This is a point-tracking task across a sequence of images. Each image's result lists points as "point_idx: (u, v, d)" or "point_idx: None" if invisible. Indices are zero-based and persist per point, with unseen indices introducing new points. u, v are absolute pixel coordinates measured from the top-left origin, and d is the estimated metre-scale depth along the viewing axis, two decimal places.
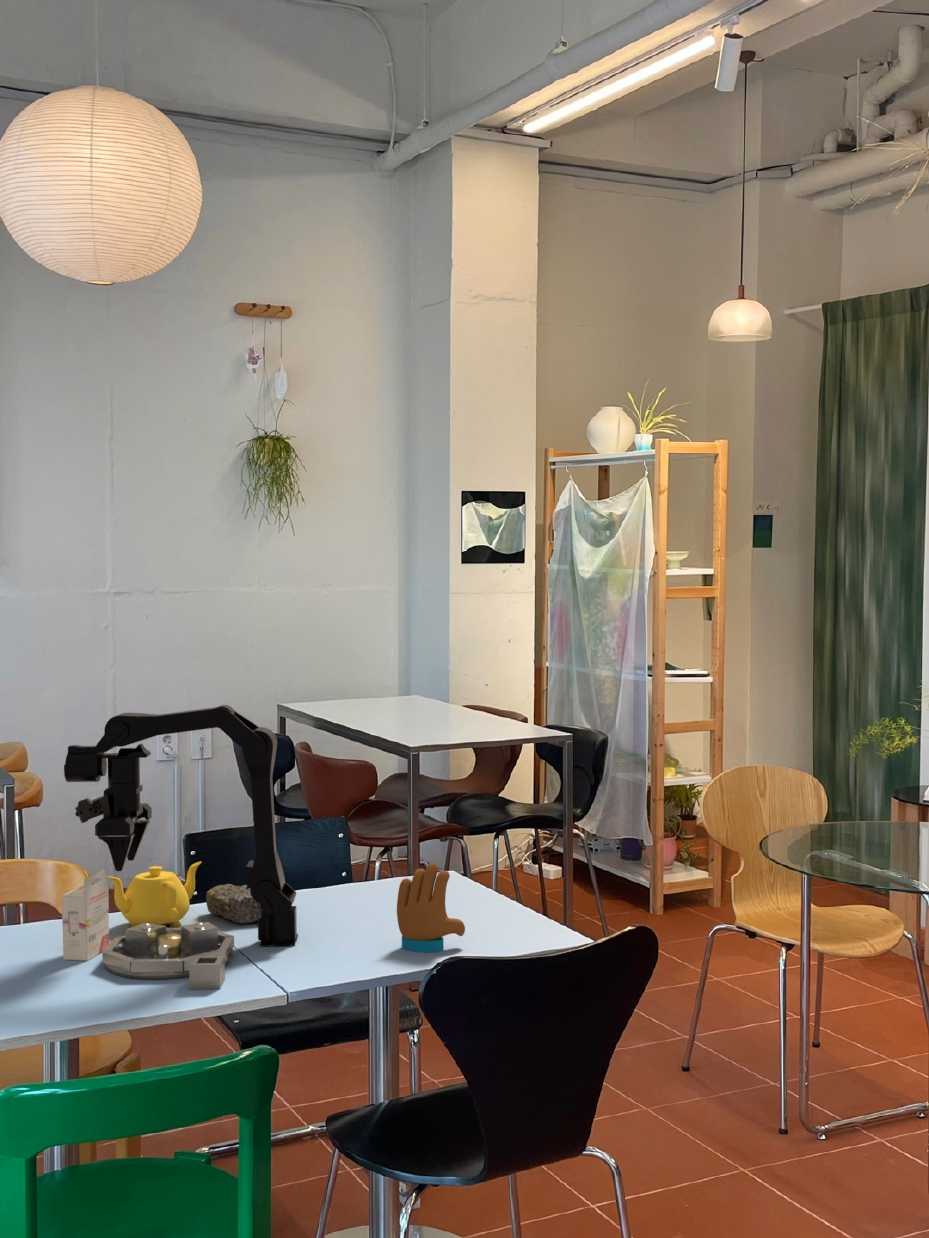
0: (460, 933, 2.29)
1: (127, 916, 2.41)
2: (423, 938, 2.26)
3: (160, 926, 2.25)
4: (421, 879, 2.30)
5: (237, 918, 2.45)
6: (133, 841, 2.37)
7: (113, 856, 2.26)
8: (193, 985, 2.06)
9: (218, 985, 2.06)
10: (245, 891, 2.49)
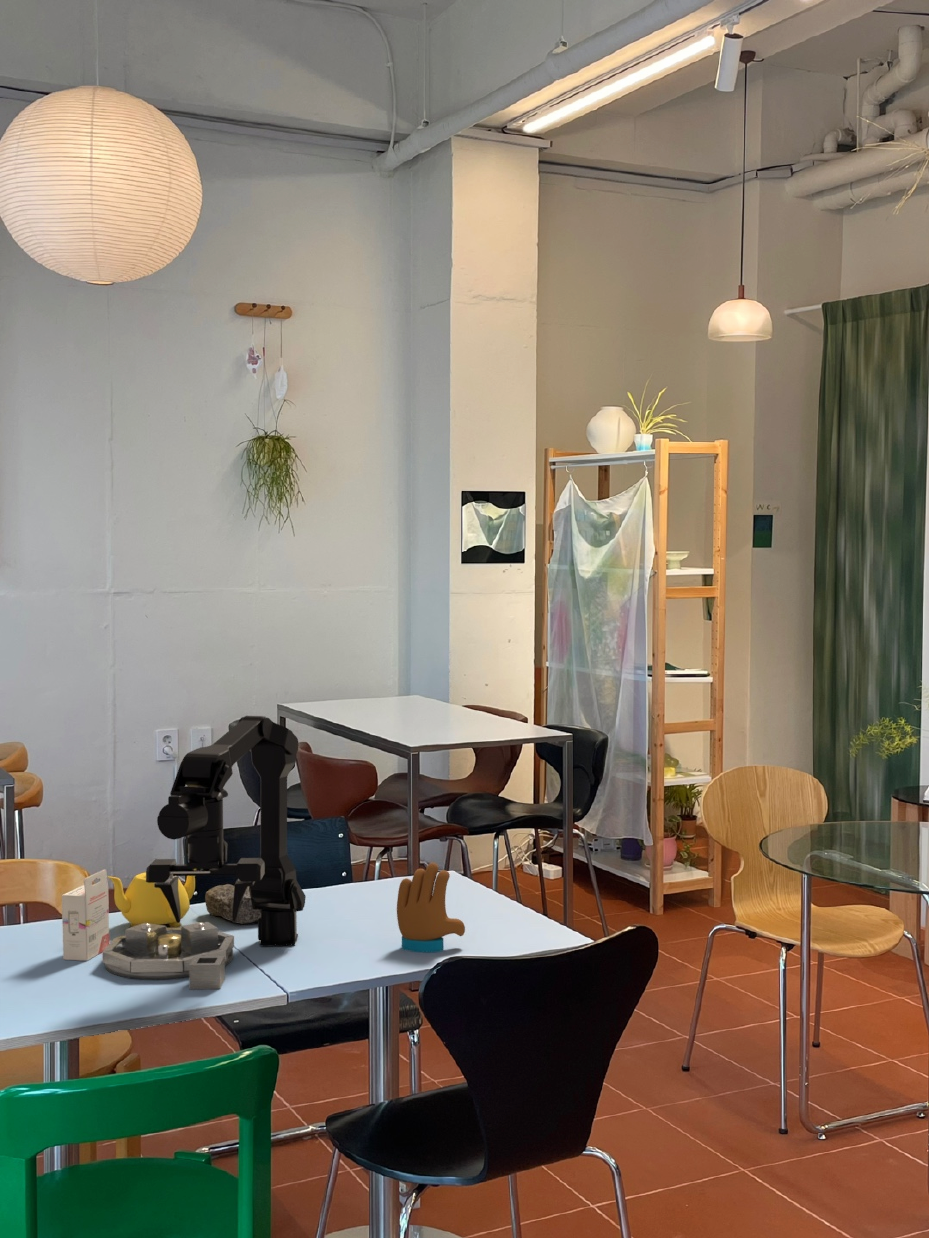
0: (460, 933, 2.29)
1: (127, 916, 2.41)
2: (423, 938, 2.26)
3: (160, 926, 2.25)
4: (421, 879, 2.30)
5: (237, 918, 2.45)
6: None
7: None
8: (193, 985, 2.06)
9: (218, 985, 2.06)
10: None
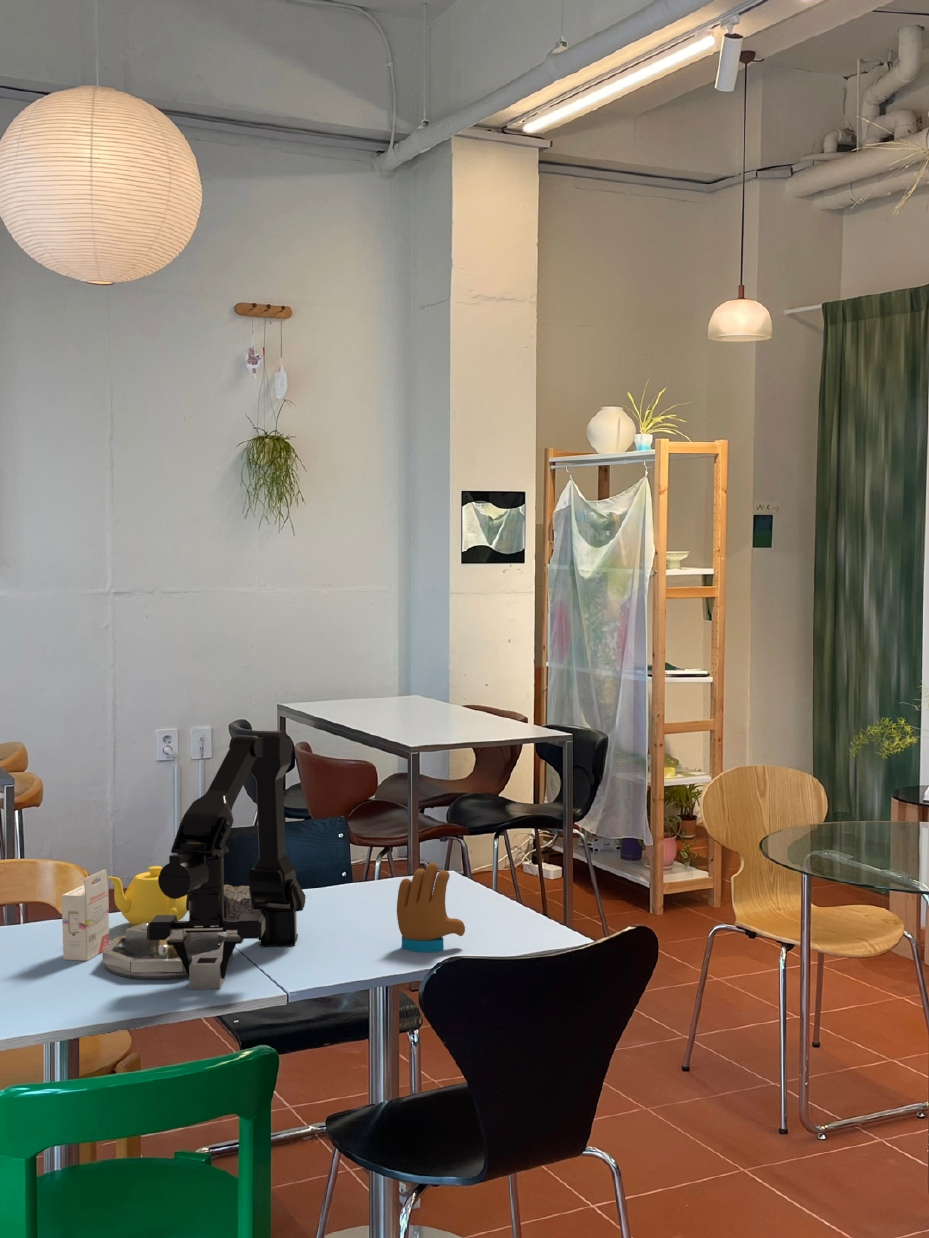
0: (460, 933, 2.29)
1: (127, 916, 2.41)
2: (423, 938, 2.26)
3: None
4: (421, 879, 2.30)
5: (236, 919, 2.44)
6: None
7: None
8: (193, 985, 2.06)
9: (218, 985, 2.06)
10: (244, 892, 2.49)
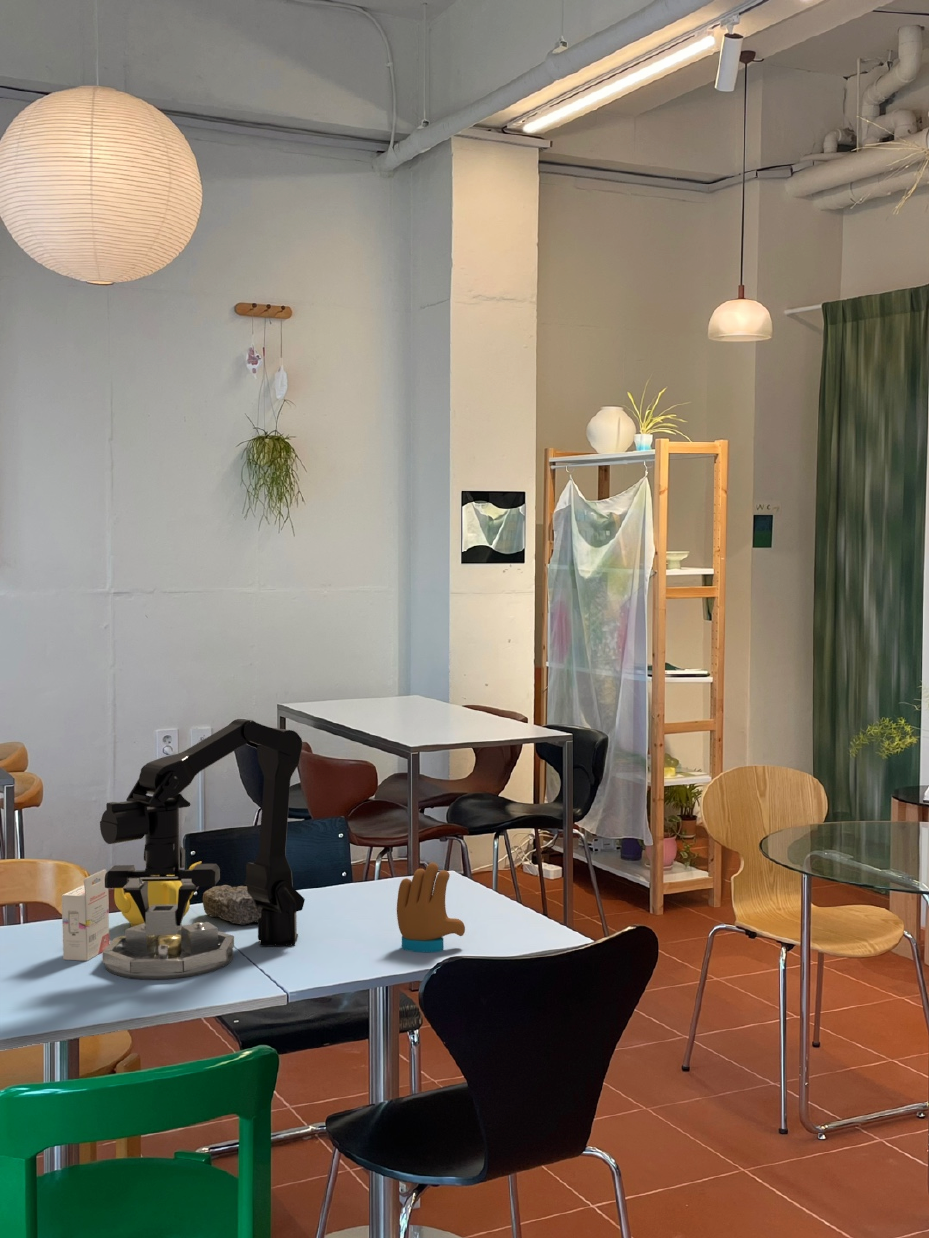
0: (460, 933, 2.29)
1: (127, 916, 2.41)
2: (423, 938, 2.26)
3: None
4: (421, 879, 2.30)
5: (236, 919, 2.44)
6: None
7: None
8: (149, 931, 2.14)
9: (173, 931, 2.14)
10: (243, 892, 2.49)
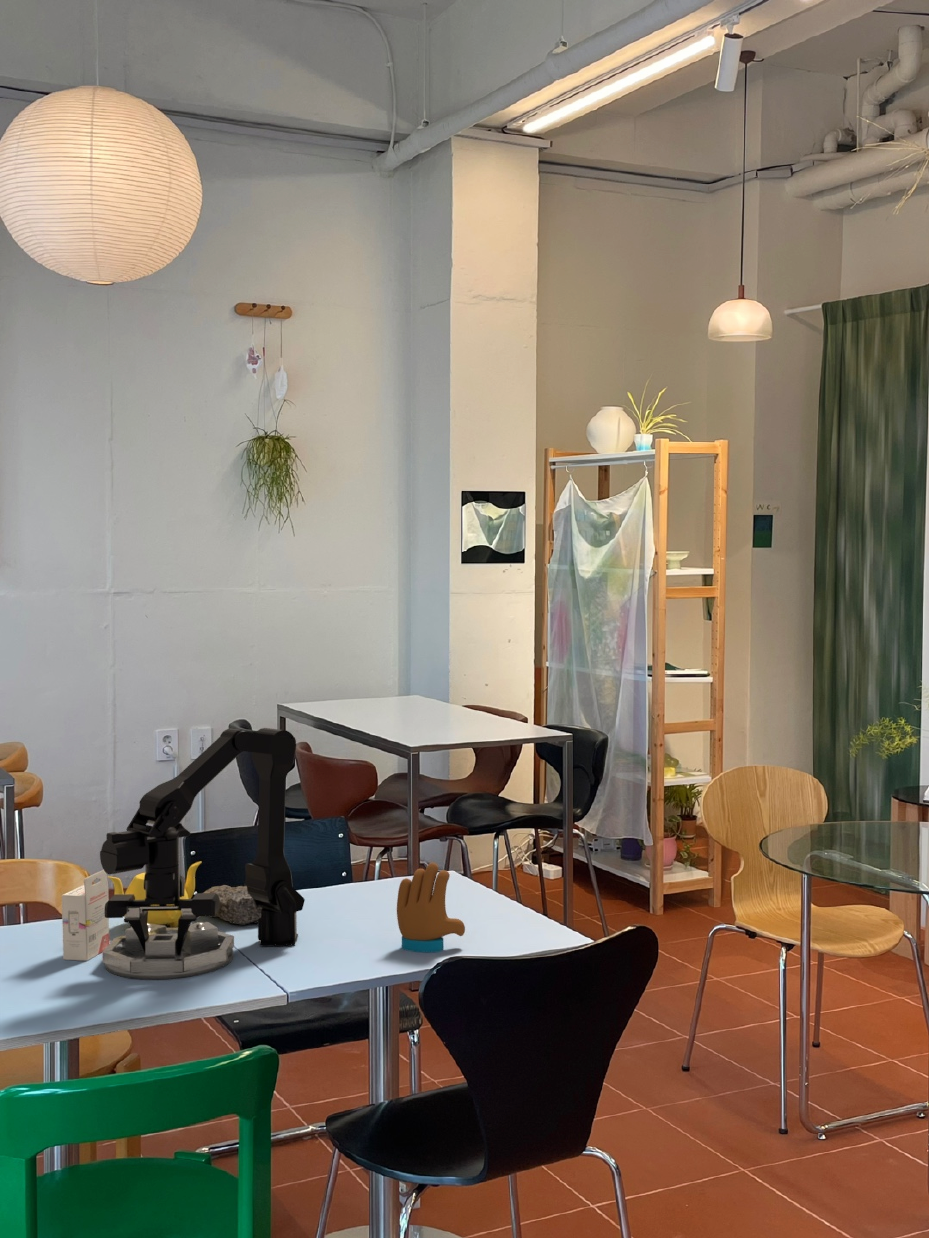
0: (460, 933, 2.29)
1: None
2: (423, 938, 2.26)
3: (160, 926, 2.25)
4: (421, 879, 2.30)
5: (235, 919, 2.44)
6: None
7: None
8: None
9: None
10: (242, 892, 2.48)
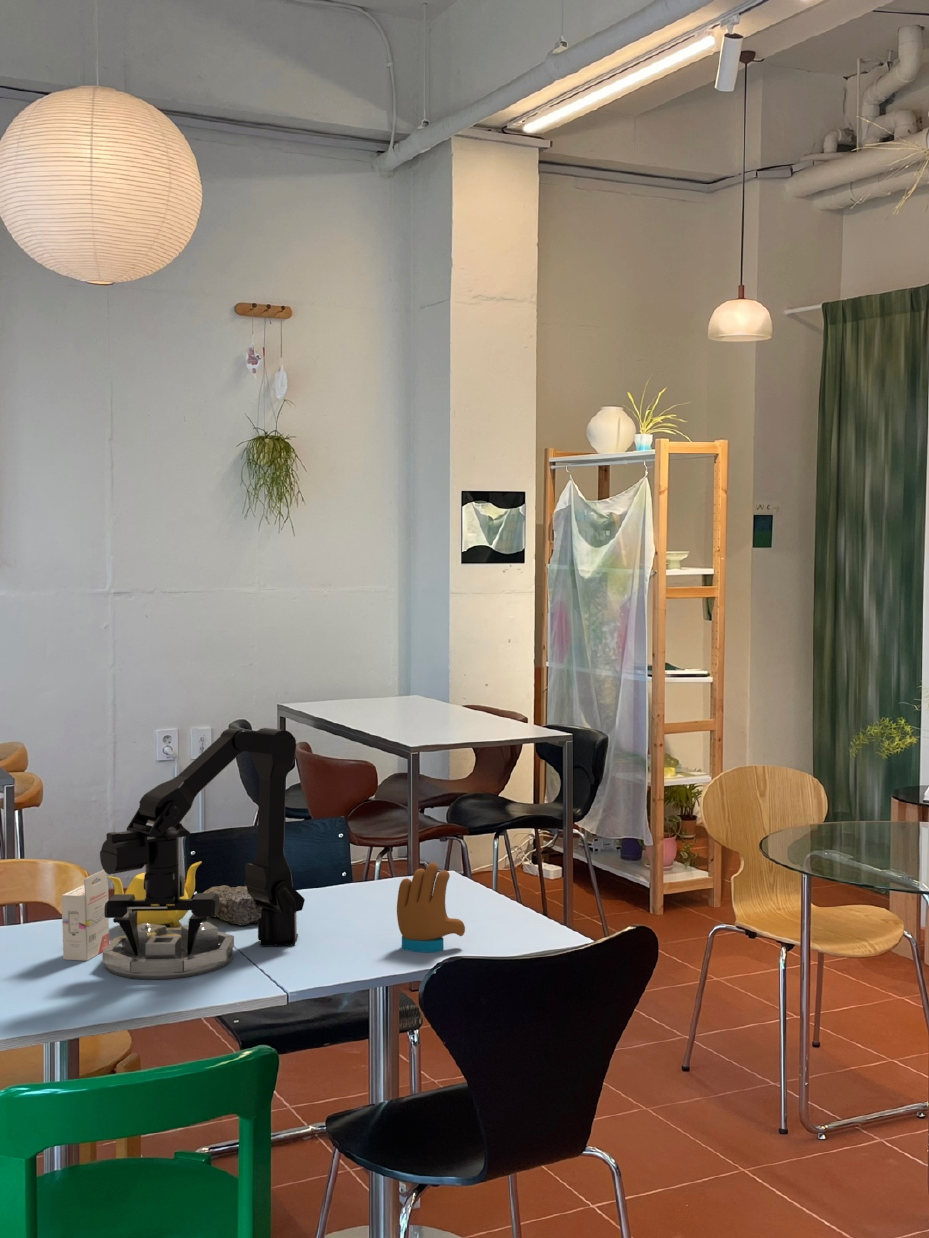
0: (460, 933, 2.29)
1: None
2: (423, 938, 2.26)
3: (160, 926, 2.25)
4: (421, 879, 2.30)
5: (235, 919, 2.44)
6: None
7: None
8: None
9: None
10: (242, 892, 2.48)
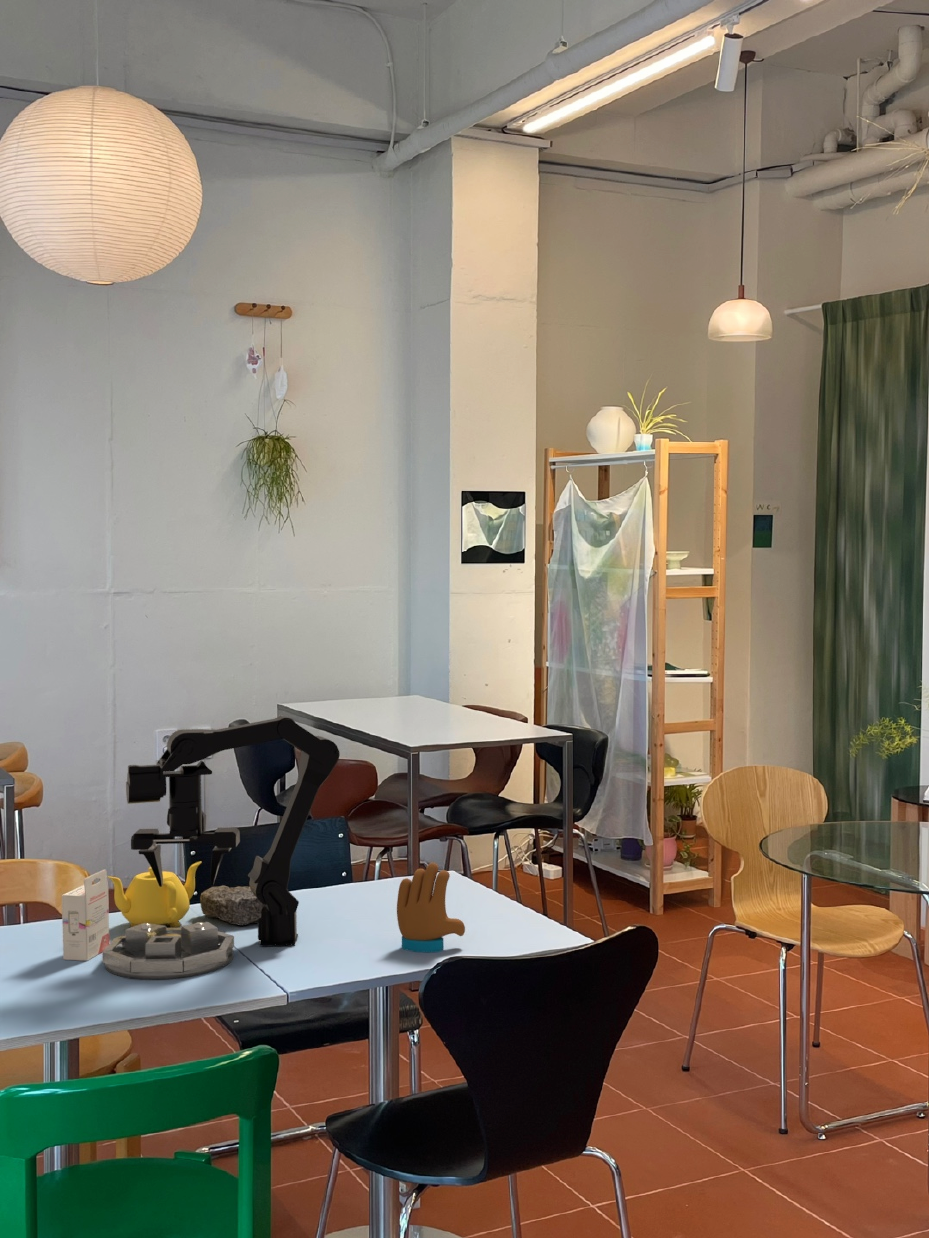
0: (460, 933, 2.29)
1: (127, 916, 2.41)
2: (423, 938, 2.26)
3: (160, 926, 2.25)
4: (421, 879, 2.30)
5: (235, 919, 2.44)
6: None
7: None
8: None
9: None
10: (241, 892, 2.48)
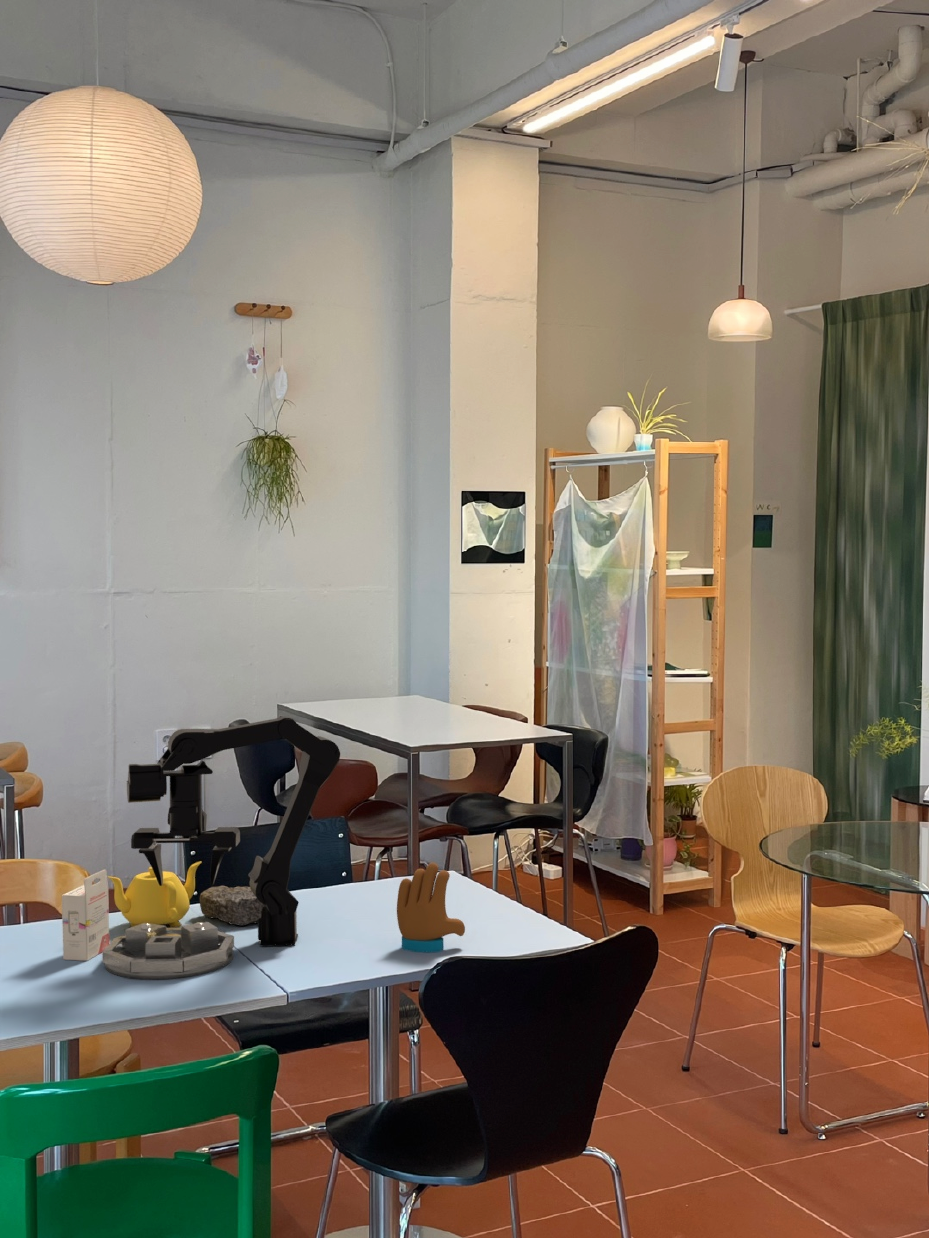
0: (460, 933, 2.29)
1: (127, 916, 2.41)
2: (423, 938, 2.26)
3: (160, 926, 2.25)
4: (421, 879, 2.30)
5: (234, 920, 2.44)
6: None
7: None
8: None
9: None
10: (241, 892, 2.48)
